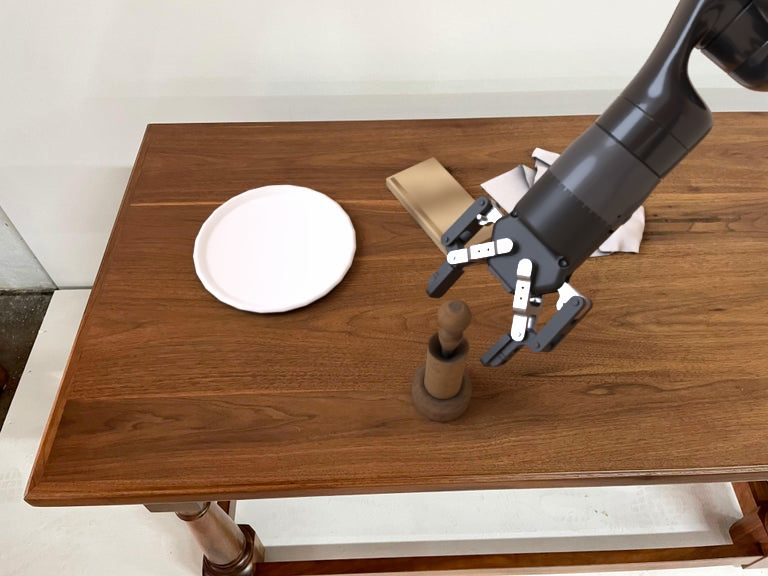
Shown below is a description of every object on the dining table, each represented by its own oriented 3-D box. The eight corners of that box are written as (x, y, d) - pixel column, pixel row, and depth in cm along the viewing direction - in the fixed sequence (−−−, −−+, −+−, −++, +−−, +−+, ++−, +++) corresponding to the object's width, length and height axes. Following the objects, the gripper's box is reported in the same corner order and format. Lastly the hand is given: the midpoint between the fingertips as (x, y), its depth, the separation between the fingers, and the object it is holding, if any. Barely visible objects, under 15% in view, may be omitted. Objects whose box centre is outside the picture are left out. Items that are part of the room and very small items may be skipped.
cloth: (659, 264, 77) (666, 252, 75) (487, 261, 77) (490, 249, 75) (626, 152, 88) (632, 139, 86) (476, 149, 88) (479, 137, 86)
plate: (197, 330, 71) (194, 325, 70) (193, 201, 83) (191, 195, 82) (369, 301, 73) (369, 295, 72) (343, 180, 85) (342, 173, 84)
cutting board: (501, 237, 79) (503, 230, 78) (451, 263, 77) (453, 256, 75) (433, 164, 87) (433, 156, 85) (385, 185, 84) (385, 177, 83)
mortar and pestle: (398, 391, 67) (402, 304, 52) (440, 356, 69) (455, 264, 54) (440, 434, 64) (457, 355, 49) (482, 396, 66) (510, 310, 52)
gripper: (511, 131, 50) (392, 270, 56) (636, 246, 43) (485, 391, 49) (546, 155, 56) (436, 279, 62) (661, 259, 49) (523, 387, 55)
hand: (458, 328), depth 55 cm, fingers open, 8 cm apart
